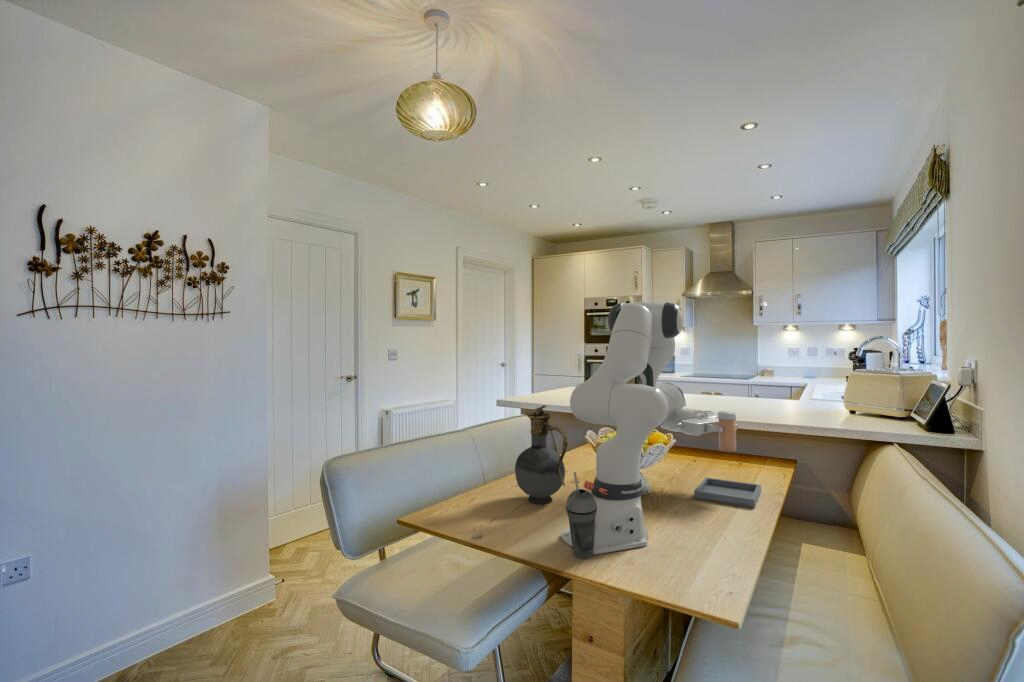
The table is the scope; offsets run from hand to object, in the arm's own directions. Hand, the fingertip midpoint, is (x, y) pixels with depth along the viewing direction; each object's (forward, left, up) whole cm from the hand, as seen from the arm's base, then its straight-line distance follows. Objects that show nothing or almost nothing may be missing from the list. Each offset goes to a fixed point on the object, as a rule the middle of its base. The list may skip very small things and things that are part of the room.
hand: (729, 428), depth 155 cm
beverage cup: (-65, -9, -21) cm, 70 cm away
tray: (0, +1, -22) cm, 22 cm away
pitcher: (-53, +27, -22) cm, 63 cm away
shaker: (0, +1, -7) cm, 7 cm away
